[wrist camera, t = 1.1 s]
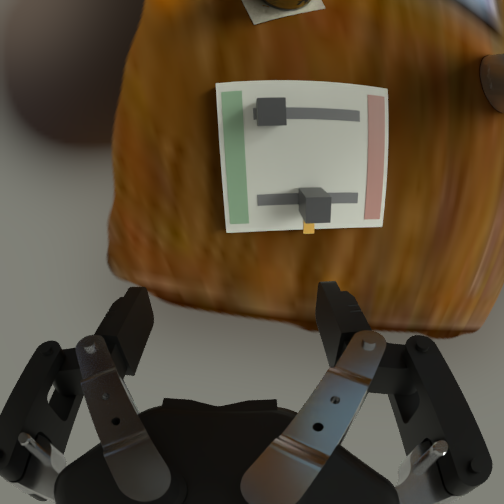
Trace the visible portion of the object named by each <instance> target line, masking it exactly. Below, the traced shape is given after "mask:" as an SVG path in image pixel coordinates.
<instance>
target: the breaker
mask: <svg viewBox="0 0 504 504" xmlns="http://www.w3.org/2000/svg"><path fill="white" fill-rule="evenodd" d="M256 117H257V126H281V125H287V120H286V97H275V98H257V99H256Z"/></svg>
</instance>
